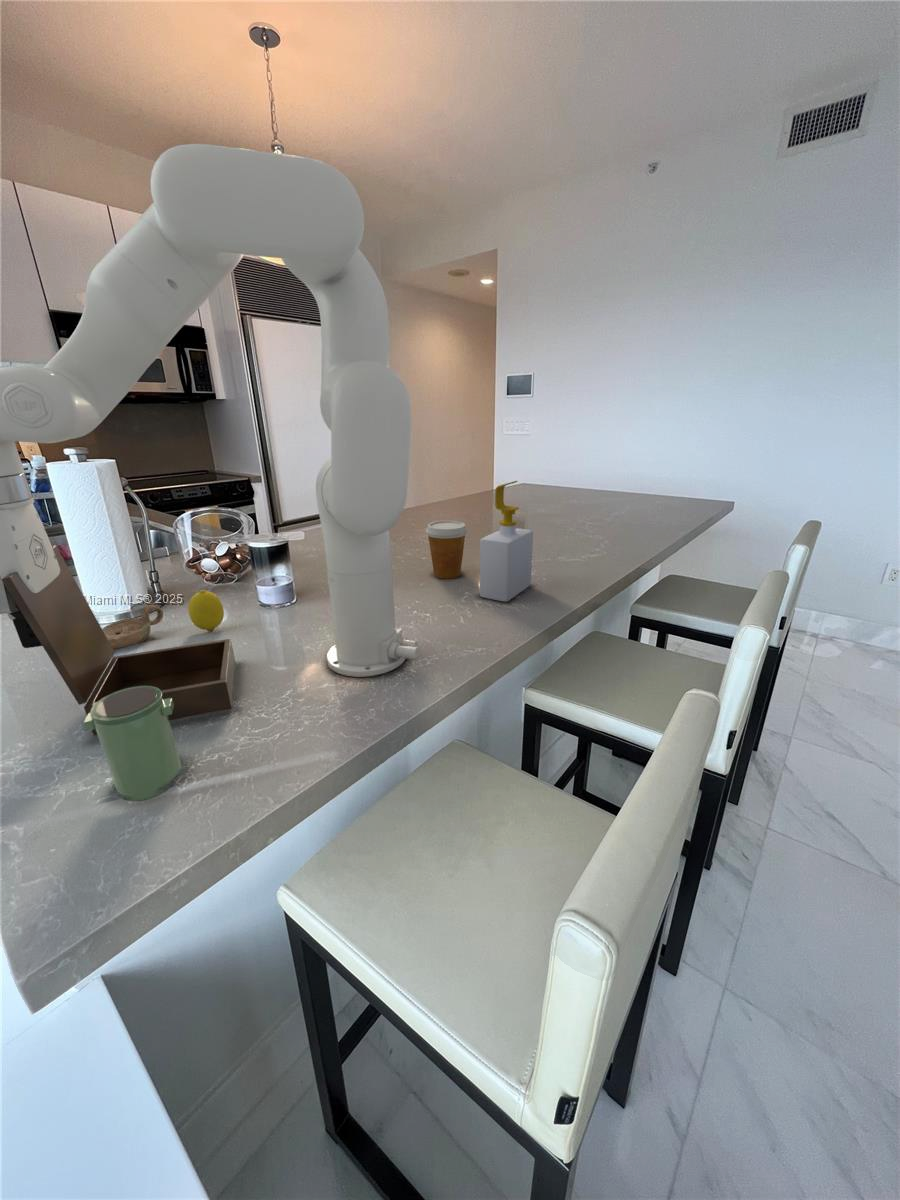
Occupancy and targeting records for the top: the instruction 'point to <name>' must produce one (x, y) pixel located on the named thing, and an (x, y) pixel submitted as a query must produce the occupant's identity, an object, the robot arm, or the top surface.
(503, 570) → the soap bottle
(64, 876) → the top surface
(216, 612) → the lemon
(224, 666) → the chest
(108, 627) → the oil lamp
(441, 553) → the disposable coffee cup
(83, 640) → the chest lid
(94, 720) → the green pot
